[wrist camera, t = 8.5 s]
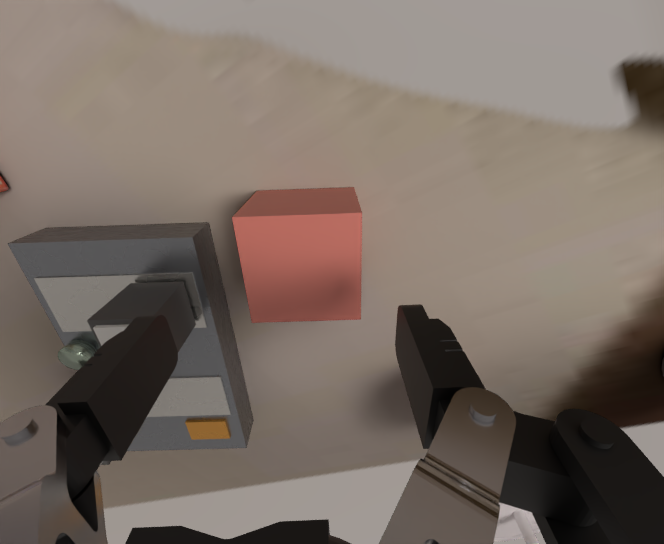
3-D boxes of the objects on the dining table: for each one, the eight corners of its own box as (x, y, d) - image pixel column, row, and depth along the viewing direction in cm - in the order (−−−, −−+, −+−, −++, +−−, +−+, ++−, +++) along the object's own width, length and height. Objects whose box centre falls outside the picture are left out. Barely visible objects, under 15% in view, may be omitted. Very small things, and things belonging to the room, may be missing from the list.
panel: (208, 222, 19) (186, 243, 16) (253, 420, 27) (244, 457, 24) (45, 228, 19) (-7, 249, 16) (140, 423, 27) (117, 460, 24)
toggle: (183, 281, 17) (148, 321, 14) (196, 324, 19) (167, 369, 15) (130, 283, 17) (83, 322, 14) (147, 326, 19) (107, 371, 15)
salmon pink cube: (353, 187, 18) (361, 212, 13) (353, 273, 20) (360, 319, 16) (257, 190, 18) (231, 217, 13) (269, 276, 20) (251, 322, 16)
